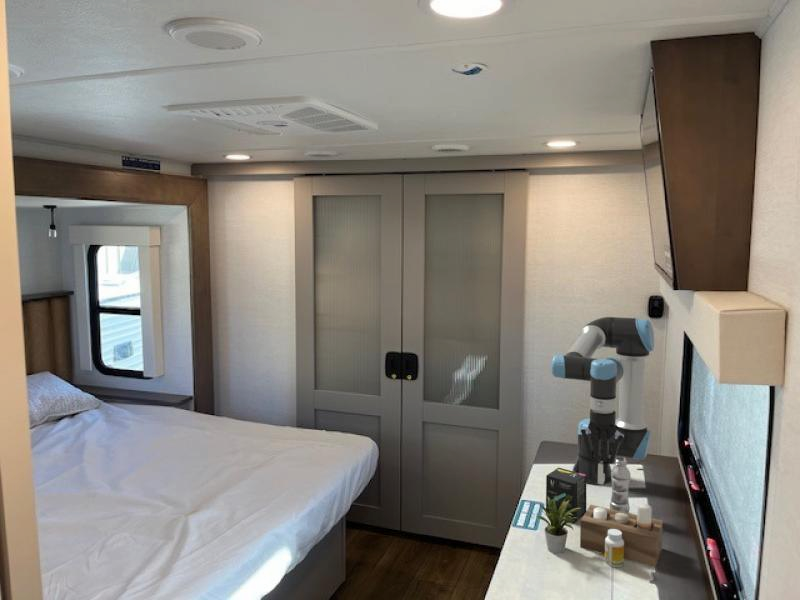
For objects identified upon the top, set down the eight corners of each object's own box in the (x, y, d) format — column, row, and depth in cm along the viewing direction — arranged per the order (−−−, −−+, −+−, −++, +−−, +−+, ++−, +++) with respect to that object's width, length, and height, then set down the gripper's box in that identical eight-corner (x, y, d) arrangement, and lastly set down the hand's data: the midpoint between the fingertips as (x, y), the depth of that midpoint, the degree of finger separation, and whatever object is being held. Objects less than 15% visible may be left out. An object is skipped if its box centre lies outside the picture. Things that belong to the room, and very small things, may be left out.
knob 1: (594, 535, 196) (595, 506, 194) (607, 538, 193) (608, 509, 192) (591, 541, 192) (592, 511, 191) (604, 544, 190) (605, 514, 189)
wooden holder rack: (590, 530, 200) (590, 500, 199) (661, 548, 189) (663, 516, 187) (580, 547, 190) (580, 515, 189) (655, 567, 179) (656, 533, 177)
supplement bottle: (626, 562, 181) (627, 531, 180) (618, 569, 178) (619, 538, 176) (609, 555, 185) (610, 525, 184) (601, 562, 182) (601, 532, 180)
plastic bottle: (606, 514, 211) (607, 459, 208) (615, 508, 215) (616, 454, 213) (624, 521, 206) (625, 464, 203) (632, 514, 211) (634, 458, 208)
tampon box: (586, 514, 211) (587, 474, 209) (574, 524, 204) (575, 483, 202) (557, 505, 218) (558, 466, 217) (545, 514, 212) (545, 474, 210)
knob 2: (637, 533, 188) (638, 502, 187) (651, 536, 186) (652, 505, 185) (635, 539, 185) (636, 508, 184) (649, 542, 183) (650, 511, 181)
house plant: (573, 569, 178) (574, 516, 176) (527, 557, 185) (528, 506, 183) (584, 546, 191) (585, 496, 189) (541, 535, 198) (541, 488, 195)
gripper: (578, 410, 187) (577, 482, 191) (622, 416, 181) (620, 491, 184) (584, 403, 194) (583, 473, 197) (627, 409, 187) (625, 482, 190)
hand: (601, 482), depth 191 cm, fingers closed
